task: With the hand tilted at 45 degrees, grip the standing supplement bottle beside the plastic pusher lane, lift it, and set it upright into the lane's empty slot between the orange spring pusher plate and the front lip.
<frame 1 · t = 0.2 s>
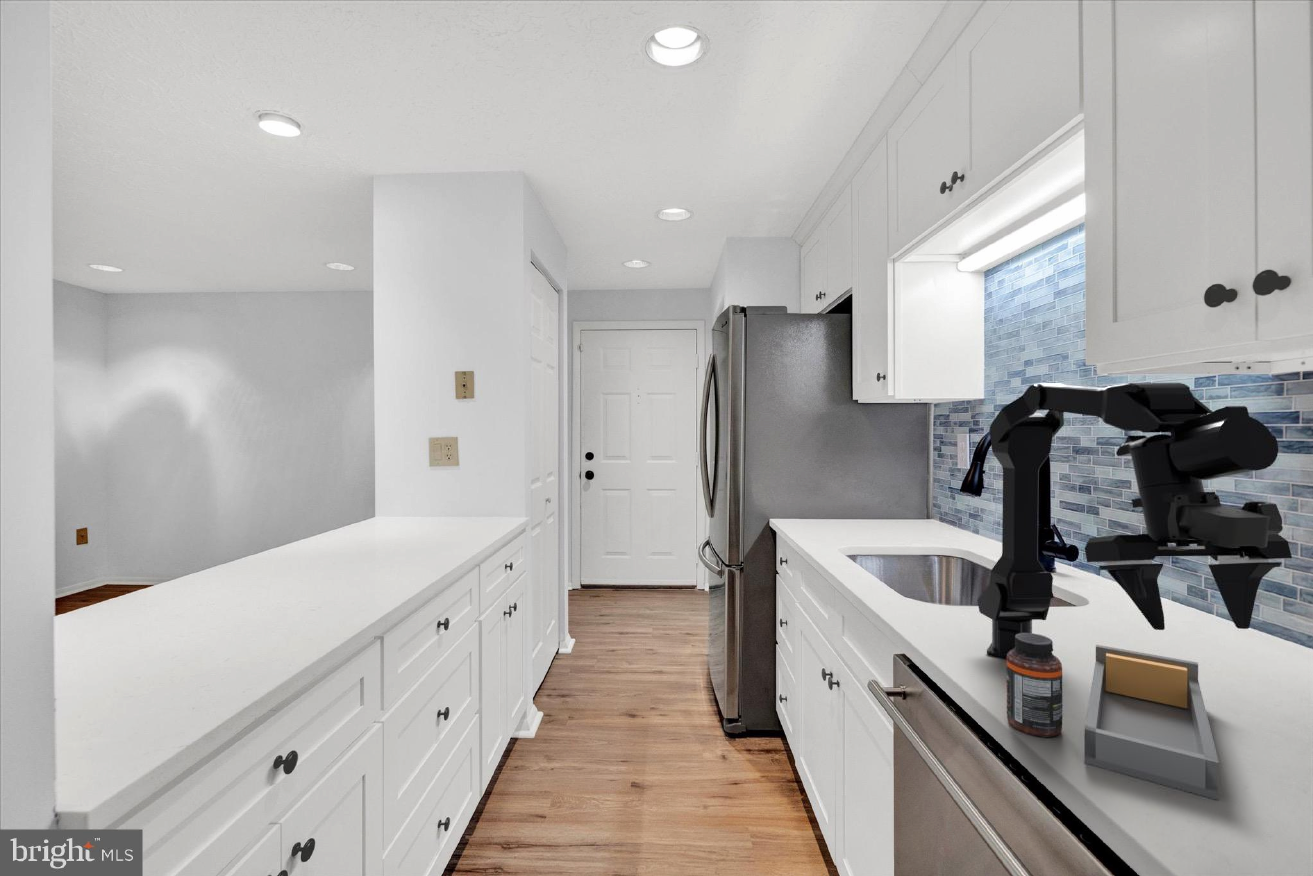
hand: (1201, 629, 65), 16 cm above the table, tool pointing down, fingers open, 9 cm apart
pusher: (1145, 676, 81), point 4 cm above the table, slide at 0.0 cm
lane: (1146, 731, 74), on the table
supplement bottle: (1033, 728, 75), on the table
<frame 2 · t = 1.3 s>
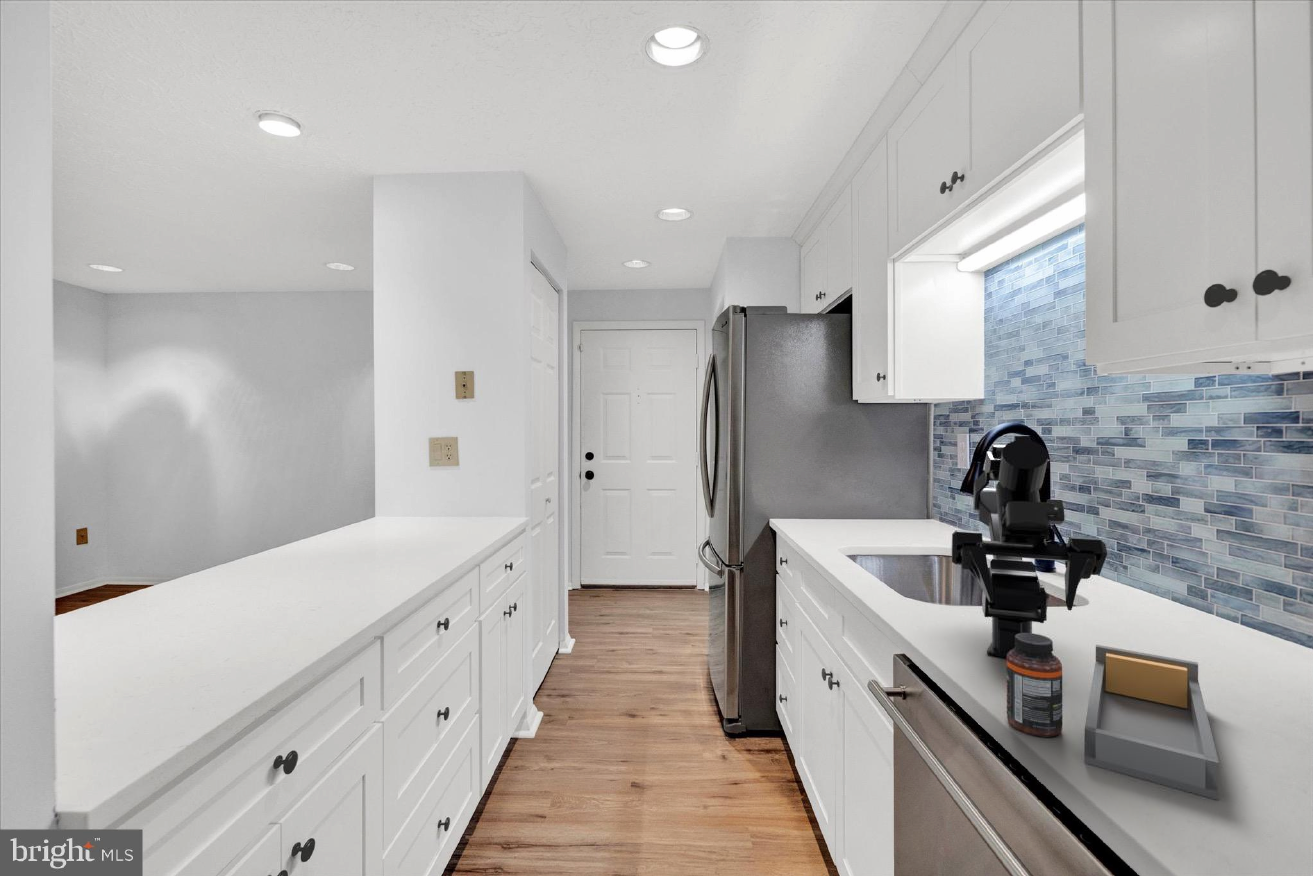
hand: (1029, 605, 81), 13 cm above the table, tool tilted 45°, fingers open, 9 cm apart
nothing on the table moved.
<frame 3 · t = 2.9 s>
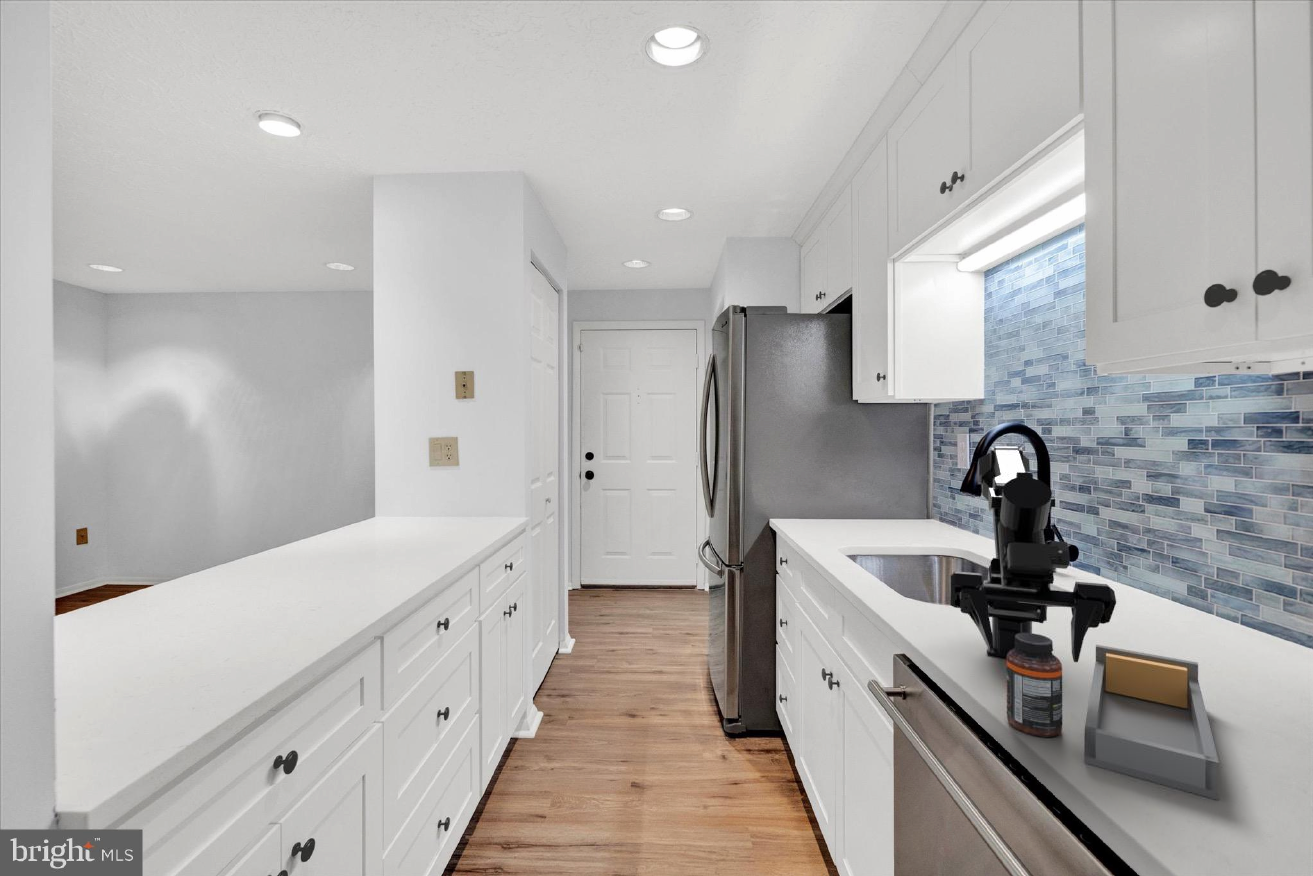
hand: (1032, 655, 76), 9 cm above the table, tool tilted 45°, fingers open, 9 cm apart
nothing on the table moved.
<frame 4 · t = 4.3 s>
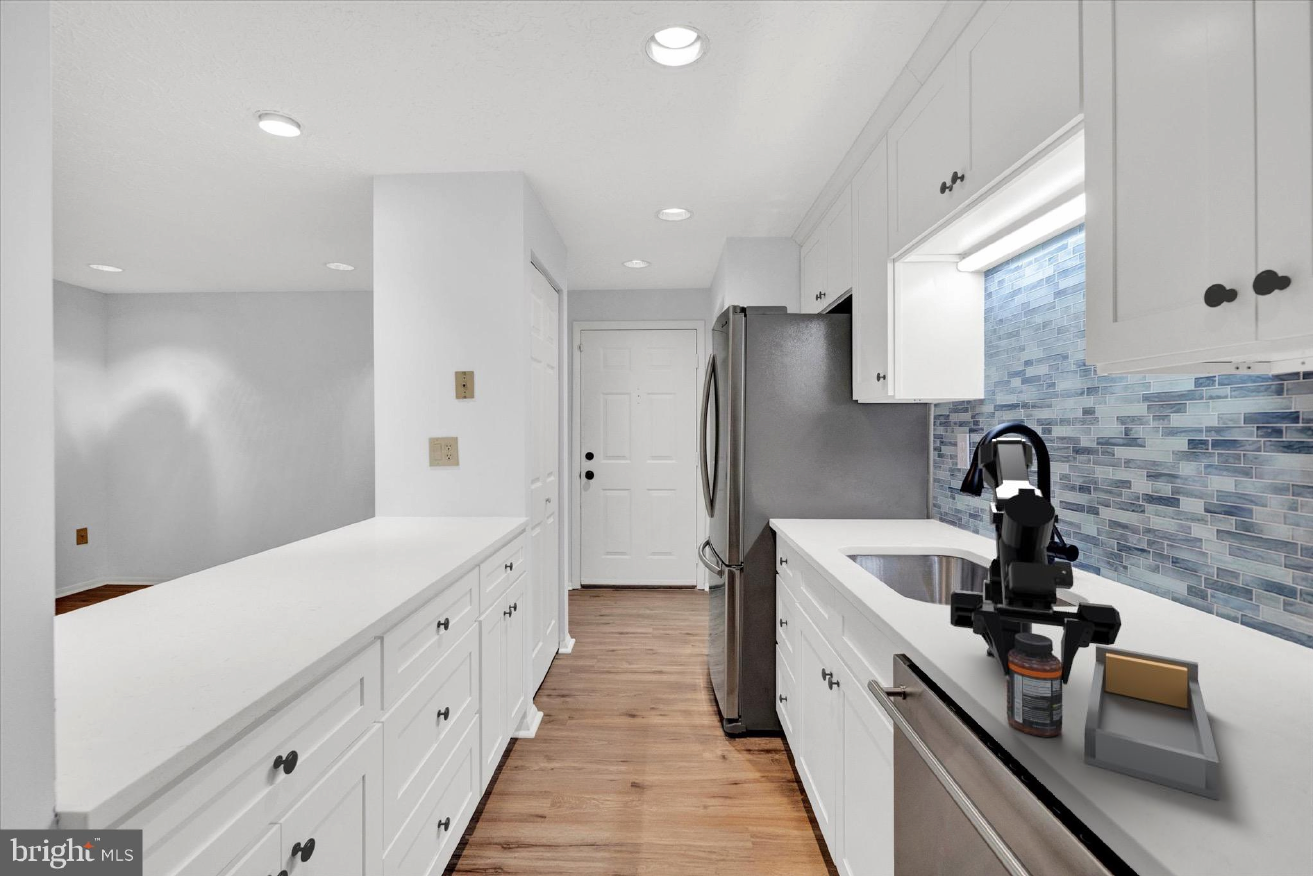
hand: (1035, 678, 74), 7 cm above the table, tool tilted 45°, fingers closed on supplement bottle, 6 cm apart
supplement bottle: (1033, 728, 75), on the table, touching gripper
everything else where it was.
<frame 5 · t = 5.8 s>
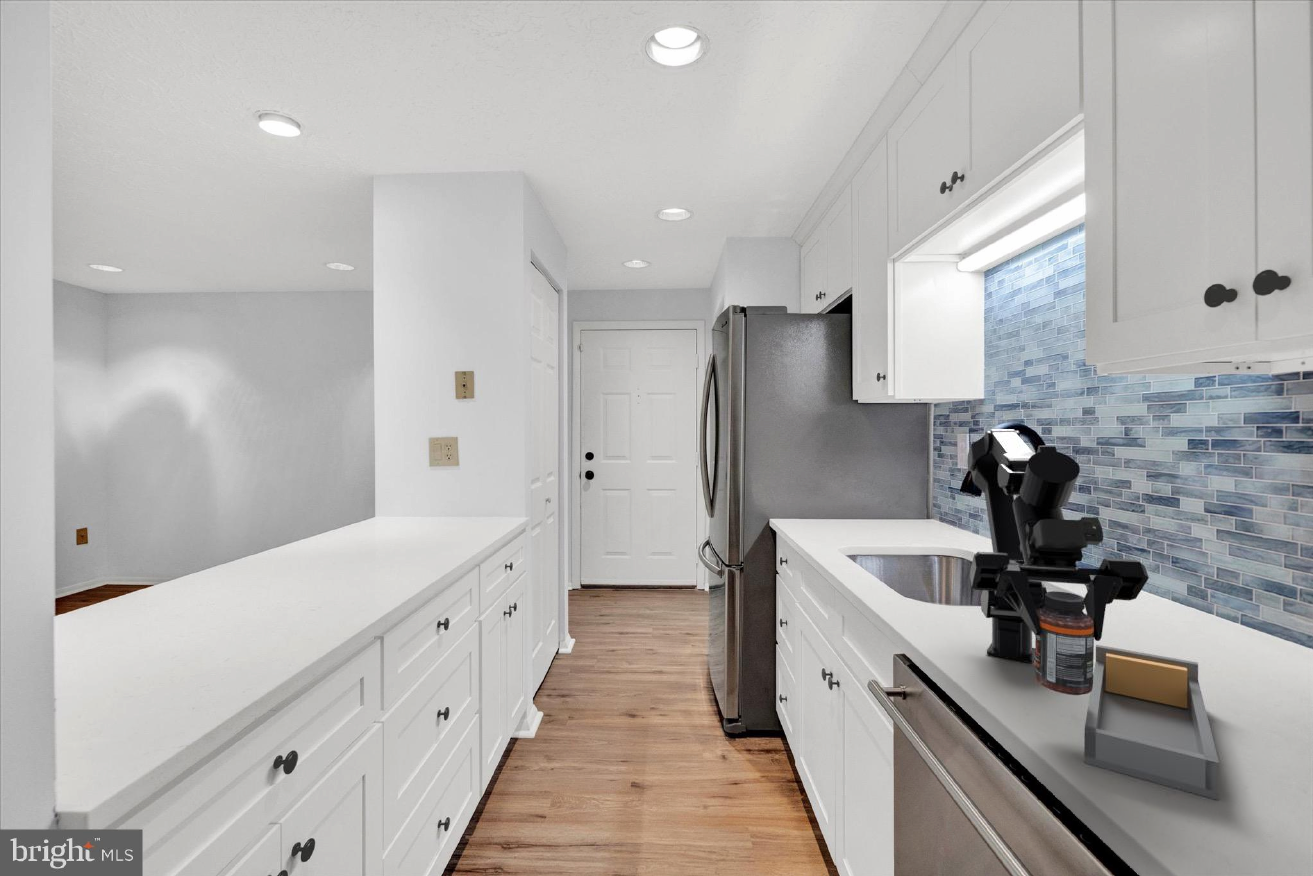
hand: (1067, 636, 72), 12 cm above the table, tool tilted 45°, fingers closed on supplement bottle, 6 cm apart
supplement bottle: (1063, 687, 74), point 5 cm above the table, touching gripper
everything else where it was.
when the fingers open (8 cm above the table, at t = 7.8 s): supplement bottle stays where it is, resting on lane.
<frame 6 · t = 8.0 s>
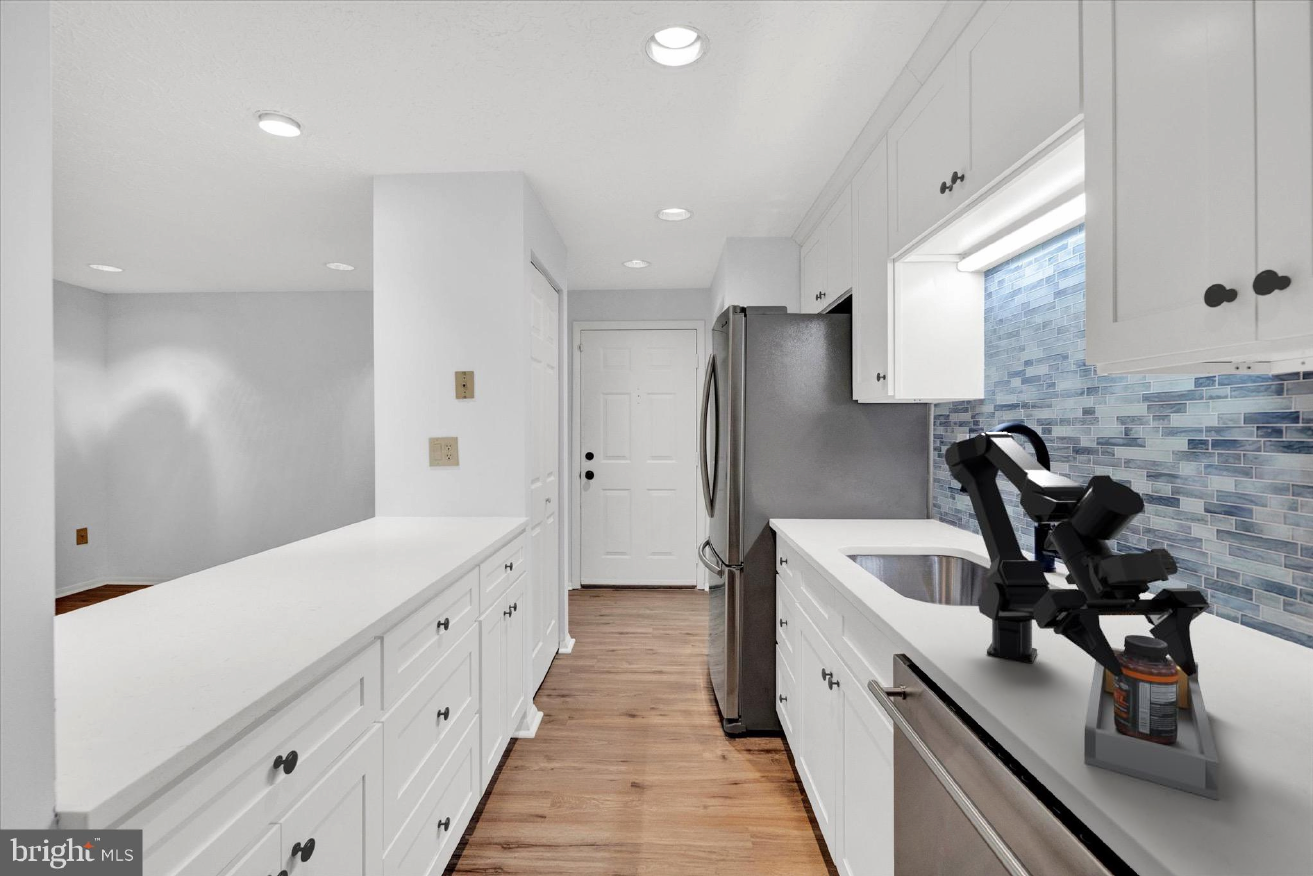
hand: (1156, 675, 70), 9 cm above the table, tool tilted 45°, fingers open, 8 cm apart
supplement bottle: (1144, 735, 71), point 1 cm above the table, touching lane
everything else where it was.
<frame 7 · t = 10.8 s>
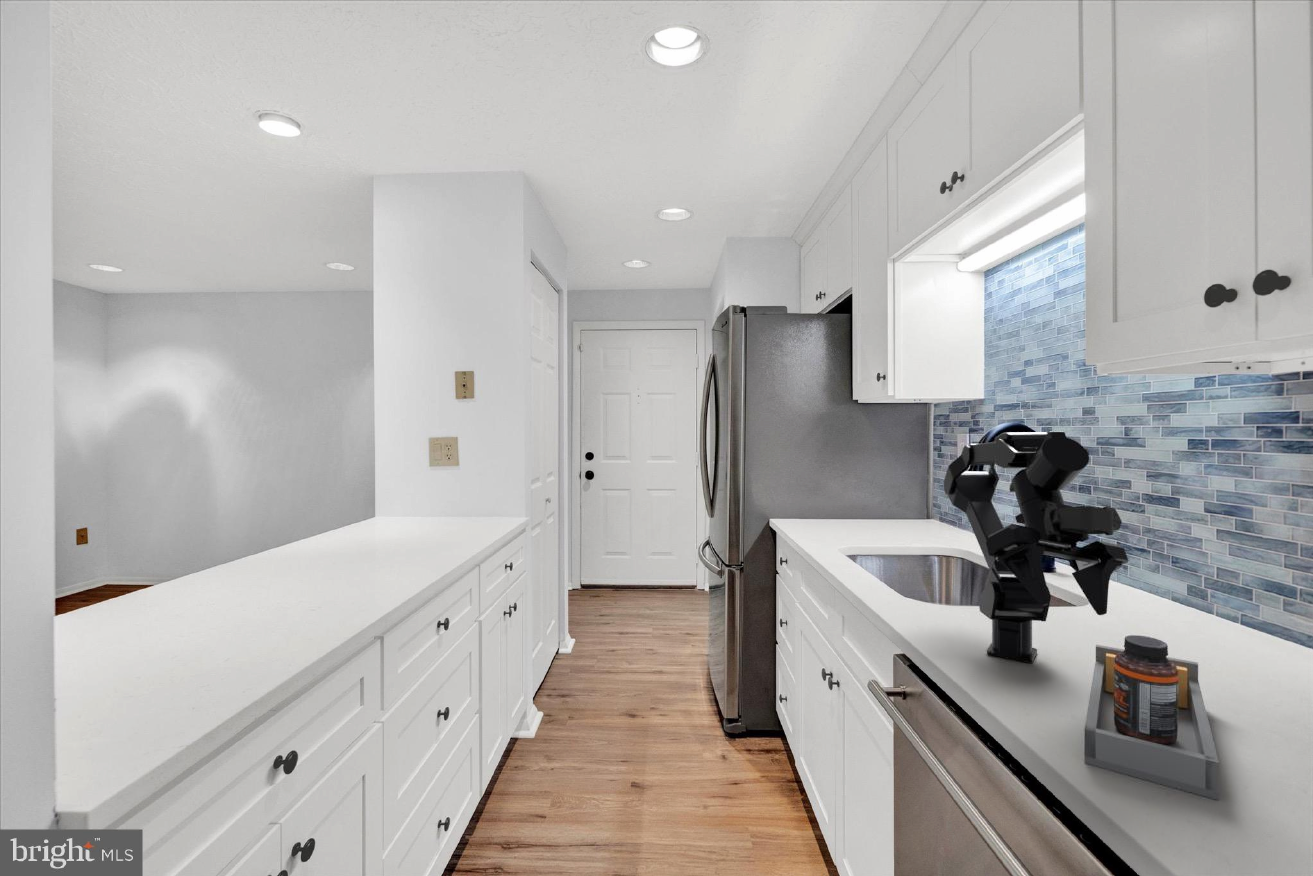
hand: (1074, 609, 80), 13 cm above the table, tool tilted 35°, fingers open, 9 cm apart
nothing on the table moved.
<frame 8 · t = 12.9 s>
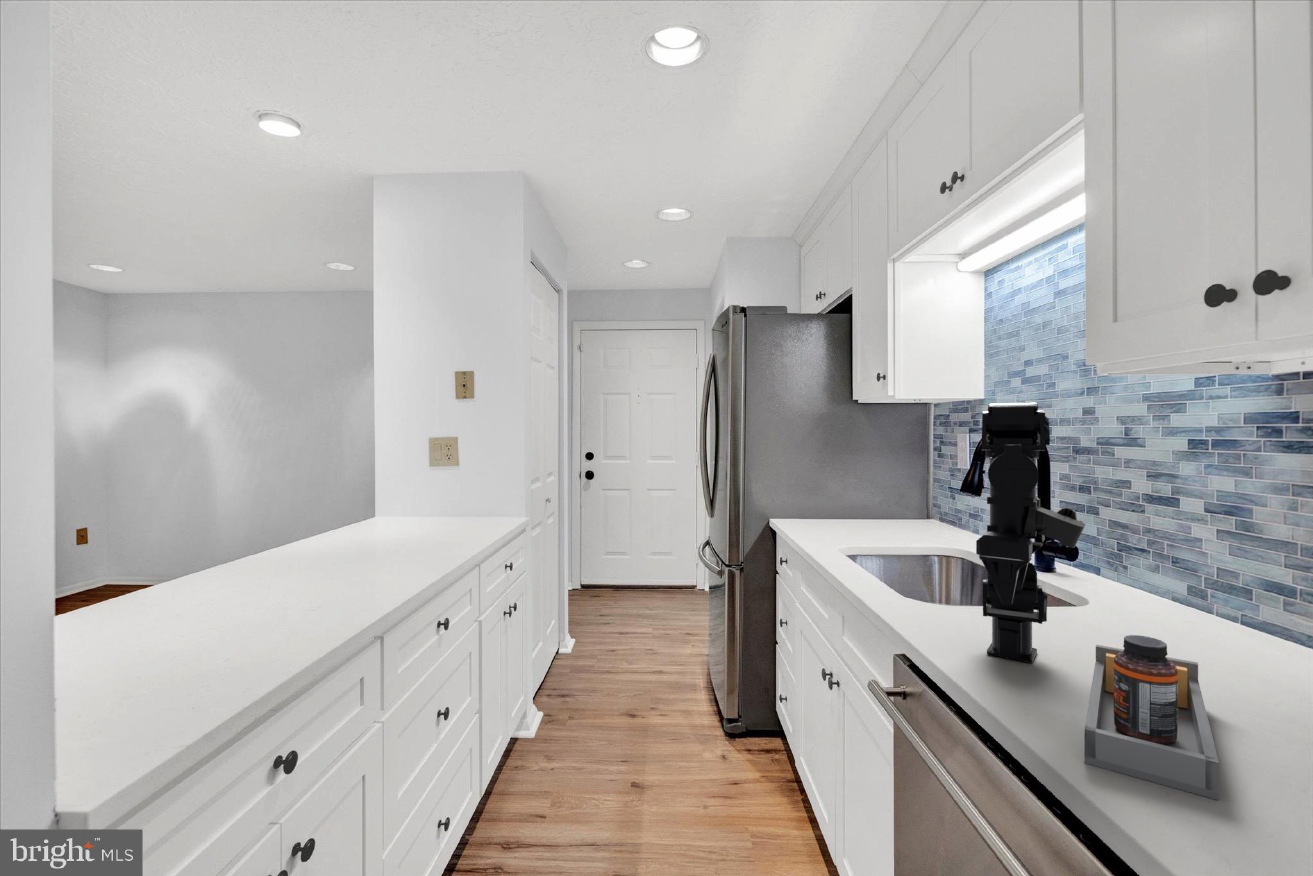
hand: (1012, 596, 87), 13 cm above the table, tool pointing down, fingers open, 9 cm apart
nothing on the table moved.
at the end: supplement bottle inside the target area on the lane (0.2 cm from its centre), point 0.6 cm above the lane's base; supplement bottle tilted 0°; the gripper is holding nothing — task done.
